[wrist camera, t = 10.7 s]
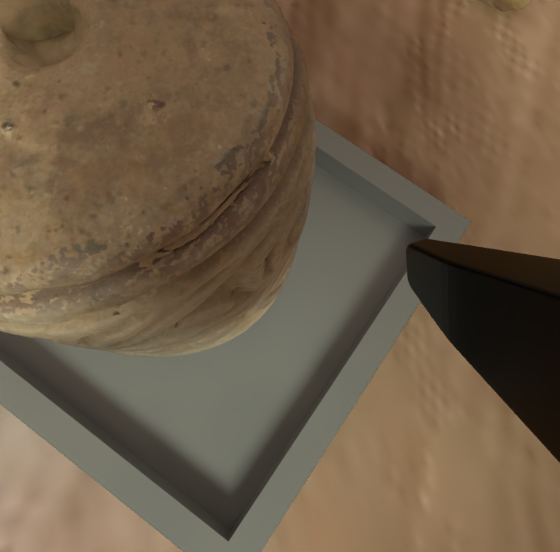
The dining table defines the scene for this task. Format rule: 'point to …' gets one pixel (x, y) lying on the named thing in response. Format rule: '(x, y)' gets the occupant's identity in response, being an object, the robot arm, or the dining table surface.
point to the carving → (149, 170)
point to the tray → (243, 370)
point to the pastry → (507, 4)
